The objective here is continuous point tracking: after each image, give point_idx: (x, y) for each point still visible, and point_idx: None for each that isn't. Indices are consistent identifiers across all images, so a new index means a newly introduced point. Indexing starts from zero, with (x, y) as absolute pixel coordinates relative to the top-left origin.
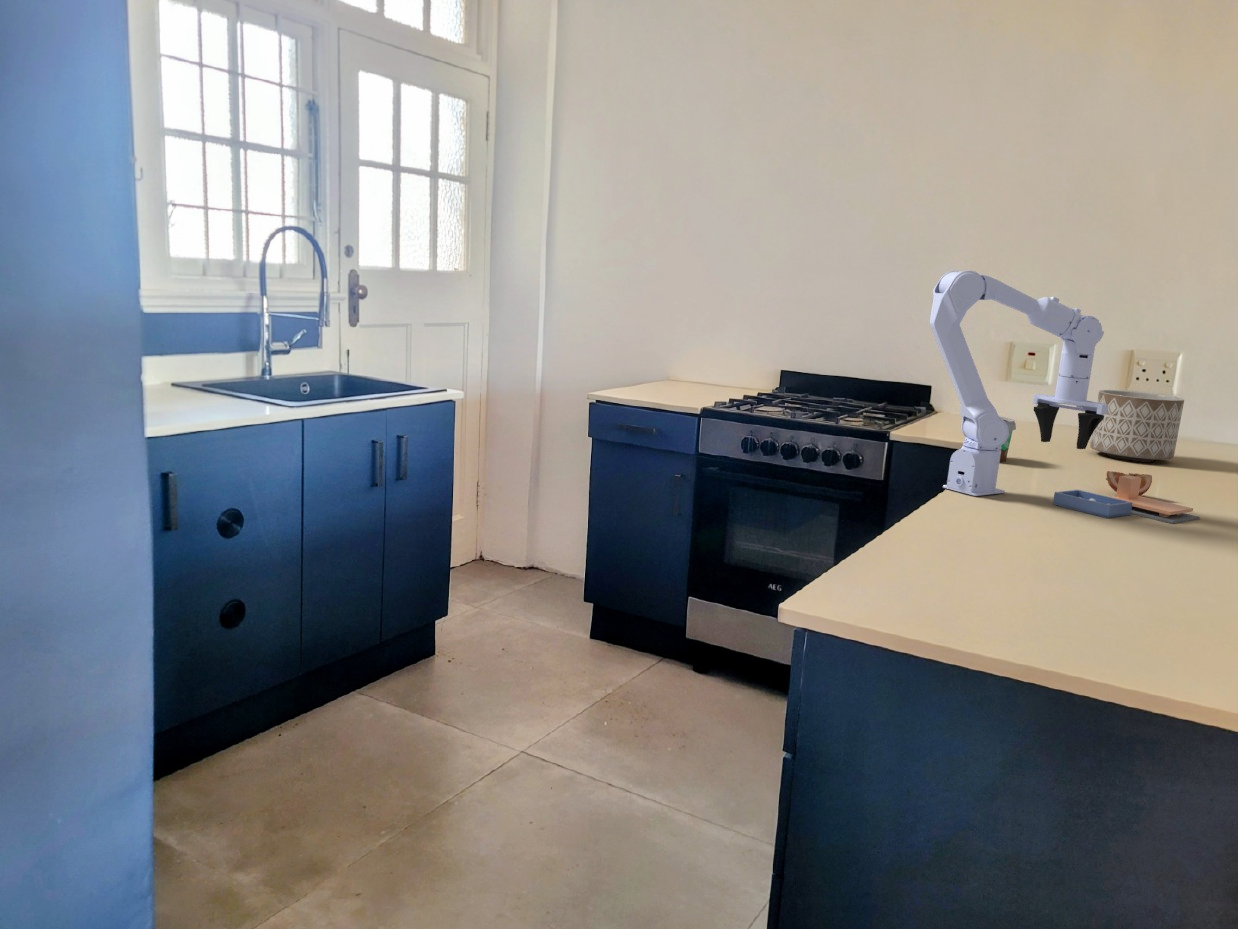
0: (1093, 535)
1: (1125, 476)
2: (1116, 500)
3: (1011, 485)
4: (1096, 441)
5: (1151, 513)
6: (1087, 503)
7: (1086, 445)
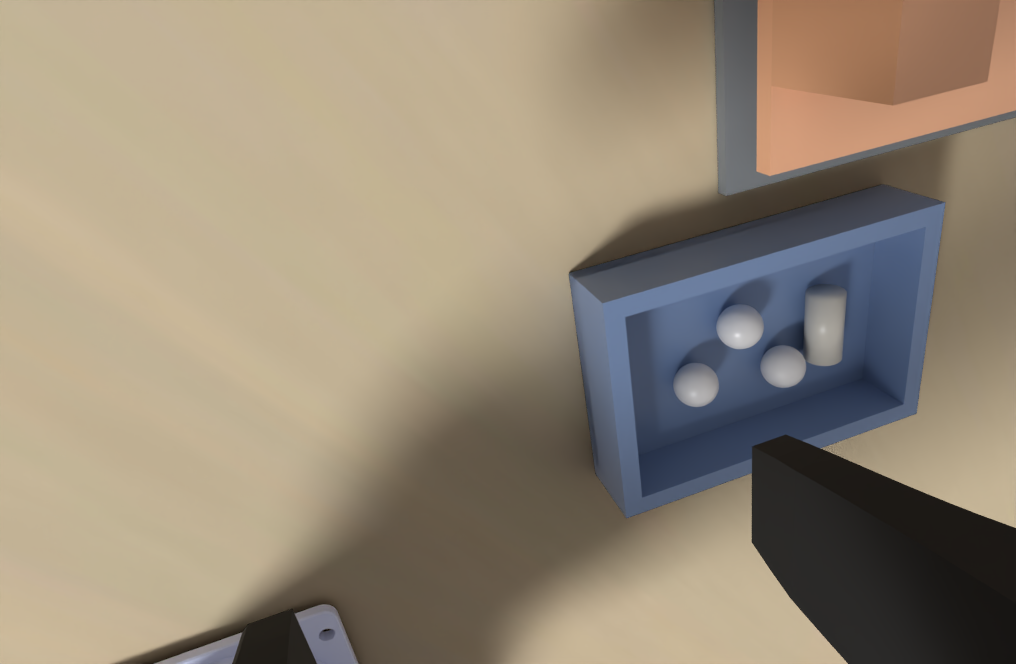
0: None
1: (918, 30)
2: (860, 242)
3: (34, 408)
4: None
5: None
6: None
7: (821, 456)
